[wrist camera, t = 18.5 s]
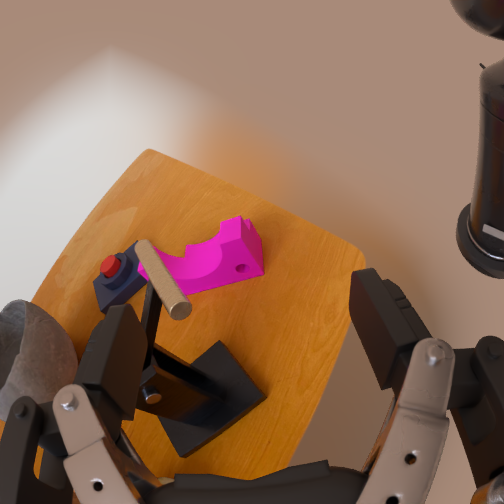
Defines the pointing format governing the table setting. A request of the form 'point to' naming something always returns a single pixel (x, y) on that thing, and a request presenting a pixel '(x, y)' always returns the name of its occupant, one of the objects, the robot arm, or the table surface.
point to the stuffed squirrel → (75, 499)
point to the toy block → (217, 258)
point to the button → (110, 266)
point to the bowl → (32, 355)
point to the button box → (120, 281)
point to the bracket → (197, 395)
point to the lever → (158, 296)
